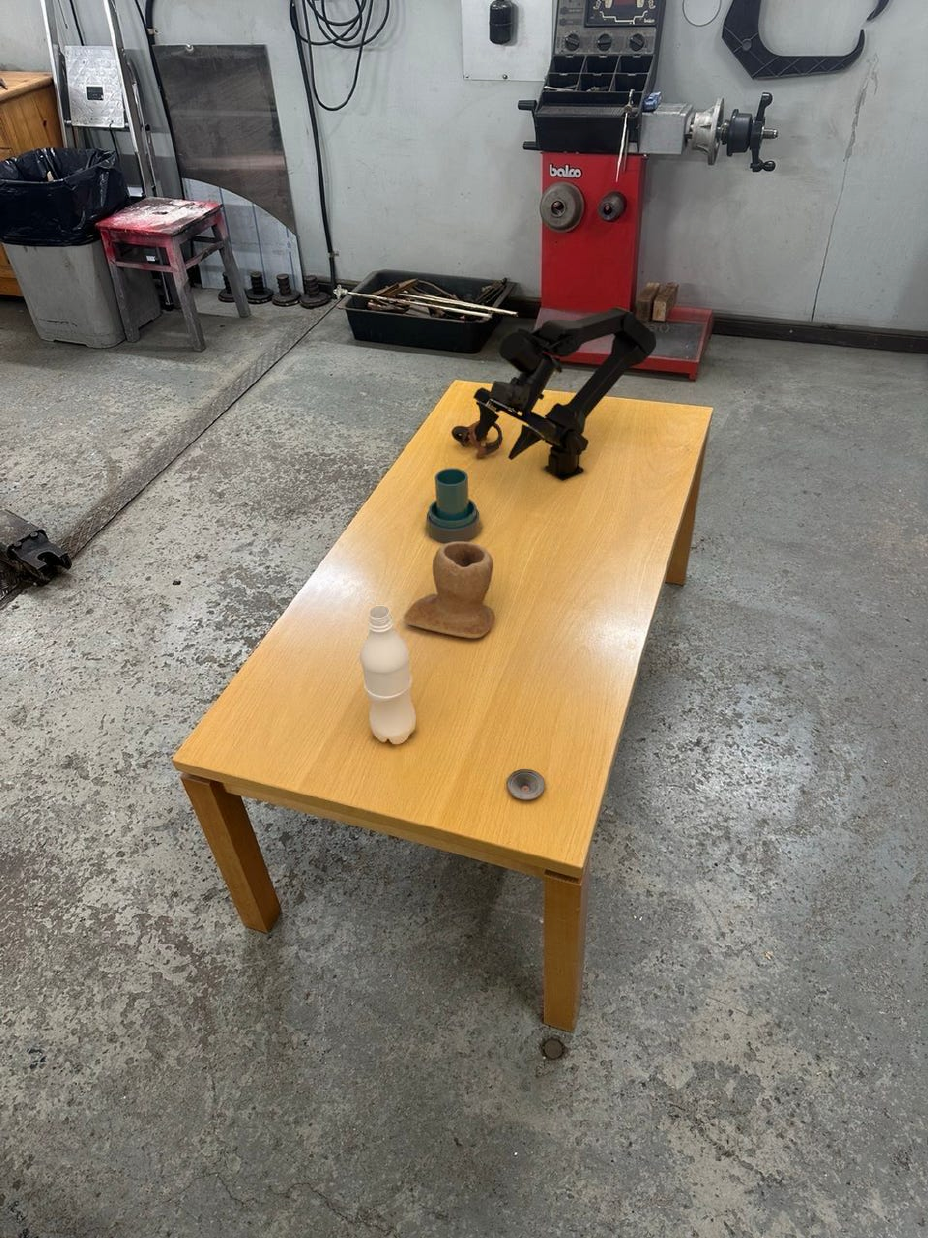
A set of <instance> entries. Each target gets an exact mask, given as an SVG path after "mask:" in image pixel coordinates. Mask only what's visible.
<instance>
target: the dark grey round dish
mask: <svg viewBox="0 0 928 1238" xmlns="http://www.w3.org/2000/svg"><path fill="white" fill-rule="evenodd" d="M506 788H507V790H508V792H509V793H510V794H511V795H512V796H513V797H514V798H517V799H520V800H528V801H529V800H534V799H536V798H538V797H539V796H541V795H542V794H543V792H544V791H545V788H546V781H545V779H544V776H542V774H540V772H538V771H536V770H534V769H530V768H520V769H516V770H515V771H513V772H511V774H509V776H508V778H507V779H506ZM525 789H526V790H525Z"/></svg>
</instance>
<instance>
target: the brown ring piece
mask: <svg viewBox="0 0 928 1238" xmlns="http://www.w3.org/2000/svg"><path fill="white" fill-rule="evenodd" d="M479 420H480V419H479ZM479 420H477V421H475V422H473V423H471V424H470V425H468V426H465V425H456V426H454V427H453V428H452V430H451V432H450V434H451V436H452V438H453V439H454V440H455V441H456V442H458V443H460V445H461V446H462V448H465V446H466V445H468V443H469V442H471V444H472V445H473V446H474V447H475V448H476V449H477V453H476V454H475V457H476V458H478V459H484V458H485V456H490V455H491V454H493V453H495V452H496V451H498V450H499V449H500V446H502V443H503V440H504V439H503V433H502V428H501V427H500V425H499V424H498V423H496V422H495V423H494V425H493V426H492V428H493V429H495V430H496V432H497V438H496V439H494V441H492V442H485V443H484V445H482V444H481V443H482V441H481V442H480V443H479V442H477V441H476V437H477V432H478V426H479ZM488 436H489V432H488V433H487V434H486V436H485V437H484V438H483V439H482V440H485V441H486V440H487V438H488Z"/></svg>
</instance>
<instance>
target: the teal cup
mask: <svg viewBox="0 0 928 1238" xmlns="http://www.w3.org/2000/svg"><path fill="white" fill-rule="evenodd" d="M434 489H435V492H434V493H435V501H436V508H437V518H439V519H442V520H447V521H456V520H461V519H464V518H466V517H468V516H469V500H468V499H469V476H468V473H467V472H465V470H462V469H460V468H454V467H453V468H451V467H450V468H445V469H441V470H439V471H438V472H437V473H436V474H435V476H434Z"/></svg>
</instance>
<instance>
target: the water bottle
mask: <svg viewBox="0 0 928 1238" xmlns="http://www.w3.org/2000/svg"><path fill="white" fill-rule="evenodd" d="M367 614H368V623H367V627H368V630H369V631H368V634H367V636H366V637H365V639H364V641H363V643H362V646H361V647H360V653H359V660H360V664H361V668H362V674H363V687H364V691H365V693H366V695H367V697H368V701H369V713H368V719H369V726H370V729H371V731H372V734H373V735H374V736H375V738H376V739H377V740H379V742H381V743H386V742H387V741H389V742H390V743H391V744H392V745H400V744H404V743H405V742H406V741H407V740H408V738H409V736H410V735H411V734H412V733H413V732H414V731H415V728H416V723H417V721H416V720H417V716H416V709H415V708H414V705H413V702H412V698H411V687H412V683H413V677H412V674H411V666H410V665H411V664H410V651H409V647H408V645H407V642H405V640H404V639H403V638H402V637H401V635H400V634H399V633H398V632H397V631H396V629H395V628H394V620H393V618H392V617H391V610H390V608H389V607H388V606H387V605H383V604H382V605H381V604H379V605H374V606H373V607H371V608H370V609H369V610H368V613H367Z"/></svg>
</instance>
